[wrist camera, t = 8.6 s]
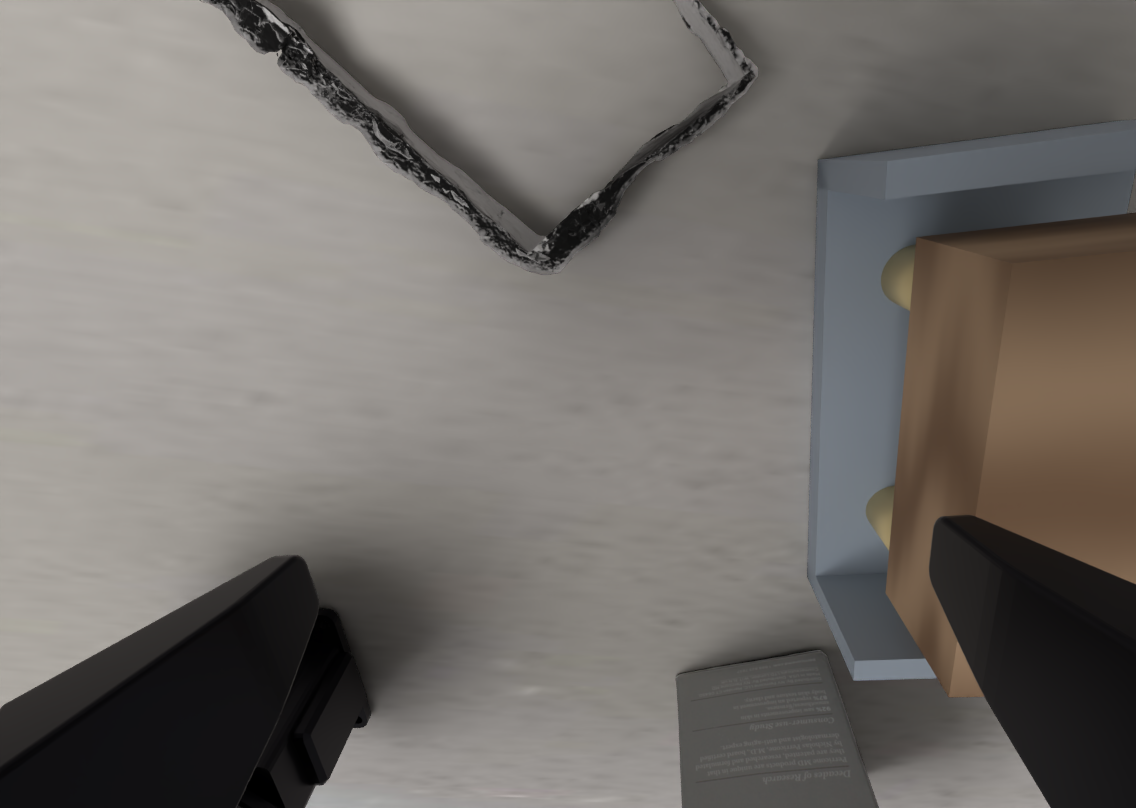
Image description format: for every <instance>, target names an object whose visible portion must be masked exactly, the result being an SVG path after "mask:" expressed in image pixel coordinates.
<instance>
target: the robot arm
mask: <svg viewBox="0 0 1136 808" xmlns="http://www.w3.org/2000/svg"><path fill="white" fill-rule="evenodd" d="M929 577H930V581H931V584H932V587H933V589H934V591H935V593H936V596H937V598H938V600H939V602H940V604H941V606H942V608H943V611H944V613H945V615H946V617H947V619H948V621H949V624H950V626H951V628H952V630H953V632H954V634H955V636H956V639H957V641H958V643H959V645H960V647H961V649H962V652H963V654H964V656H965V658H966V660H967V662H968V665H969V667H970V669H971V671H972V673H973V675H974V677H975V679H976V681H977V683H978V685H979V687H980V689H981V691H982V693H983V695H984V697H985V698H986V700H987V702H988V704H989V705H990V707H991V709H992V711H993V712H994V714H995V716H996V717H997V719H998V721H999V722H1000V724H1001V726H1002V727H1003V729H1004V731H1005V732H1006V734H1007V736H1008V737H1009V739H1010V741H1011V742H1012V744H1013V746H1014V747H1015V749H1016V751H1017V752H1018V754H1019V756H1020V757H1021V759H1022V761H1023V762H1024V764H1025V766H1026V767H1027V769H1028V771H1029V772H1030V774H1031V776H1032V777H1033V779H1034V781H1035V782H1036V784H1037V786H1038V787H1039V789H1040V791H1041V792H1042V794H1043V796H1044V797H1045V799H1046V801H1047V802H1048V804H1049V806H1050V807H1051V808H1136V584H1134V583H1132V582H1129V581H1127V580H1125V579H1122V578H1120V577H1118V576H1115V575H1113V574H1111V573H1108V572H1106V571H1103V570H1101V569H1099V568H1096V567H1094V566H1092V565H1089V564H1087V563H1085V562H1082V561H1080V560H1078V559H1075V558H1073V557H1070V556H1068V555H1066V554H1063V553H1061V552H1059V551H1056V550H1054V549H1052V548H1049V547H1047V546H1045V545H1042V544H1040V543H1037V542H1035V541H1033V540H1030V539H1028V538H1026V537H1023V536H1021V535H1019V534H1016V533H1014V532H1012V531H1009V530H1007V529H1004V528H1002V527H1000V526H997V525H995V524H993V523H990V522H988V521H986V520H983V519H981V518H978V517H976V516H973V515H953V516H941V517H939V518H938V519H937V520H936V521H935V523H934V527H933V534H932V542H931V551H930V560H929ZM324 620H326V621H327V622H326V621H324ZM366 698H367V696H366V693H365V690H364V687H363V684H362V681H361V678H360V675H359V672H358V669H357V666H356V663H355V660H354V657H353V656H352V654H351V652H350V649H349V646H348V643H347V640H346V637H345V634H344V631H343V628H342V625H341V622H340V619H339V616H338V615H337V613H336V612H334V611H333V610H331V609H326V608H322V609H319V599H318V595H317V592H316V589H315V586H314V584H313V581H312V578H311V575H310V572H309V569H308V566H307V564H306V561H305V560H304V559H303V558H302V557H301V556H299V555H286V556H275V557H271V558H269V559H267V560H266V561H264V562H262V563H260V564H258V565H257V566H255V567H253V568H251V569H249V570H248V571H246V572H244V573H242V574H240V575H238V576H237V577H235V578H233V579H231V580H229V581H228V582H226V583H224V584H222V585H220V586H219V587H217V588H215V589H213V590H211V591H209V592H208V593H206V594H204V595H202V596H200V597H199V598H197V599H195V600H193V601H191V602H189V603H188V604H186V605H184V606H182V607H180V608H179V609H177V610H175V611H173V612H171V613H170V614H168V615H166V616H164V617H162V618H160V619H159V620H157V621H155V622H153V623H151V624H150V625H148V626H146V627H144V628H142V629H140V630H139V631H137V632H135V633H133V634H131V635H130V636H128V637H126V638H124V639H122V640H121V641H119V642H117V643H115V644H113V645H111V646H110V647H108V648H106V649H104V650H102V651H101V652H99V653H97V654H95V655H93V656H91V657H90V658H88V659H86V660H84V661H82V662H81V663H79V664H77V665H75V666H73V667H72V668H70V669H68V670H66V671H64V672H62V673H61V674H59V675H57V676H55V677H53V678H52V679H50V680H48V681H46V682H44V683H43V684H41V685H39V686H37V687H35V688H33V689H32V690H30V691H28V692H26V693H24V694H23V695H21V696H19V697H17V698H15V699H13V700H12V701H10V702H8V703H6V704H4V705H3V706H2V707H1V709H0V808H305V807H306V805H307V802H308V800H309V798H310V796H311V794H312V792H313V790H314V788H315V786H316V785H324V784H325V783H326V781H327V780H328V779H329V778H330V776H331V773H332V771H333V769H334V767H335V765H336V763H337V761H338V758H339V756H340V754H341V752H342V750H343V748H344V746H345V744H346V741H347V739H348V737H349V735H350V733H351V731H352V729H353V728H361V727H364V726H366V725H367V723H368V721H369V718H370V716H371V711H370V708H369V705H368V702H367V699H366Z"/></svg>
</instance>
